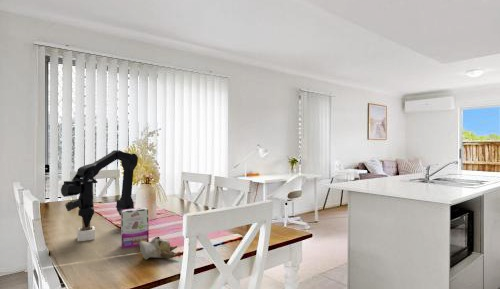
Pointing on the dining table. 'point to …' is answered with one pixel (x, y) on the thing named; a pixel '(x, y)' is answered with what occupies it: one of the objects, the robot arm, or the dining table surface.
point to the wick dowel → (84, 226)
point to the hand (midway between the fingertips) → (86, 226)
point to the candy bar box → (134, 227)
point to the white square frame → (86, 234)
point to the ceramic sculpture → (157, 249)
